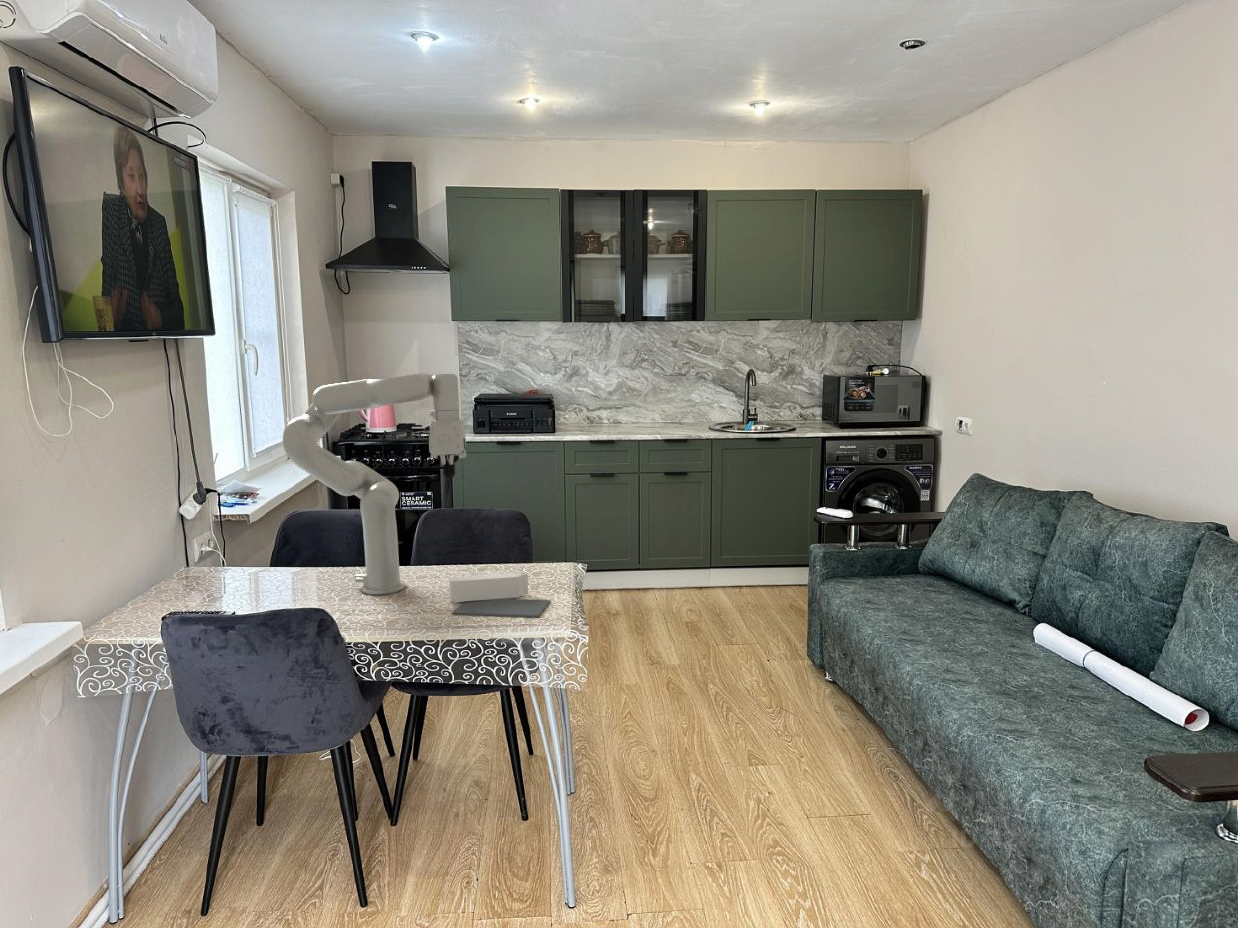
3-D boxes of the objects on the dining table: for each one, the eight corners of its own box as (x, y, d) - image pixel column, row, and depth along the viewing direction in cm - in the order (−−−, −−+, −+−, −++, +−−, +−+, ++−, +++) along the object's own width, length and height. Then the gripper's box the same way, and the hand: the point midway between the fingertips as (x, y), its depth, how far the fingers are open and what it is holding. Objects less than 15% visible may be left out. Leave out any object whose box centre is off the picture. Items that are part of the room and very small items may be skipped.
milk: (451, 602, 217) (529, 597, 224) (451, 580, 217) (529, 576, 223) (449, 597, 223) (525, 592, 229) (449, 576, 222) (525, 572, 229)
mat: (452, 614, 210) (451, 612, 210) (468, 599, 223) (468, 597, 223) (538, 617, 207) (538, 615, 207) (550, 602, 219) (550, 600, 219)
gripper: (417, 417, 228) (420, 479, 230) (466, 416, 226) (469, 479, 228) (427, 415, 235) (430, 475, 238) (475, 414, 233) (477, 475, 235)
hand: (449, 477), depth 233 cm, fingers closed
